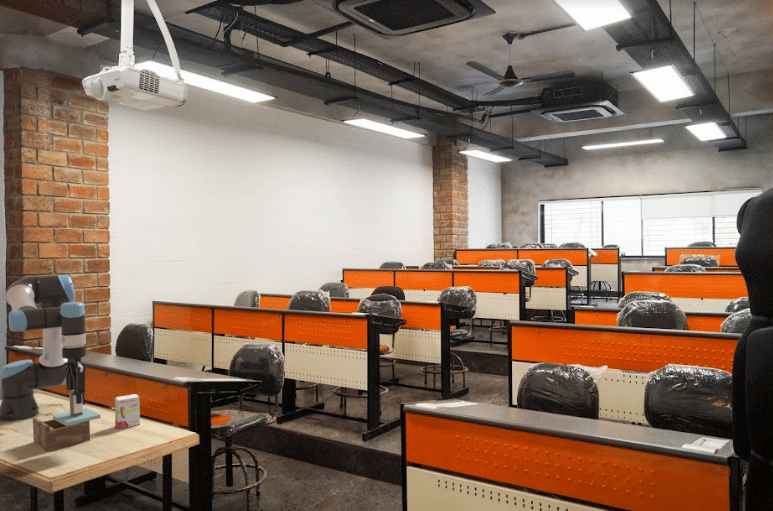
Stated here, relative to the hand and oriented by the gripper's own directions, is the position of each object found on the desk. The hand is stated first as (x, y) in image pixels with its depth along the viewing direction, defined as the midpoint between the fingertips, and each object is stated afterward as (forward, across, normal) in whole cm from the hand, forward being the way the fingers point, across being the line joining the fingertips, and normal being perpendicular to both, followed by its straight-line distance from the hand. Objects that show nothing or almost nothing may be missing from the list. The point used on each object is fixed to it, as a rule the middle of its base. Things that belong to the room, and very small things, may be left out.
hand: (76, 411), depth 203 cm
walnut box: (+14, -16, 0) cm, 21 cm away
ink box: (+14, -14, +24) cm, 31 cm away
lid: (+3, 0, 0) cm, 3 cm away
